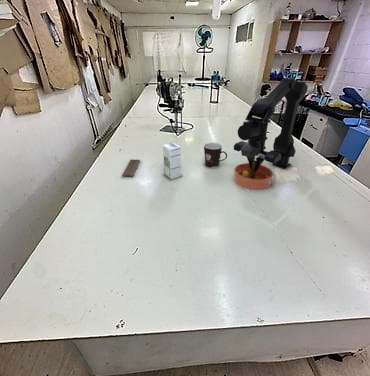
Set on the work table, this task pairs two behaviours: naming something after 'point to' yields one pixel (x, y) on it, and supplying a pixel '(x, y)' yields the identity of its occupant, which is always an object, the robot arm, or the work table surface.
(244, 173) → the ball
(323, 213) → the work table surface
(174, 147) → the syrup box
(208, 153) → the coffee mug
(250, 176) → the stick
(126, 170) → the wooden plank
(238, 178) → the bowl
